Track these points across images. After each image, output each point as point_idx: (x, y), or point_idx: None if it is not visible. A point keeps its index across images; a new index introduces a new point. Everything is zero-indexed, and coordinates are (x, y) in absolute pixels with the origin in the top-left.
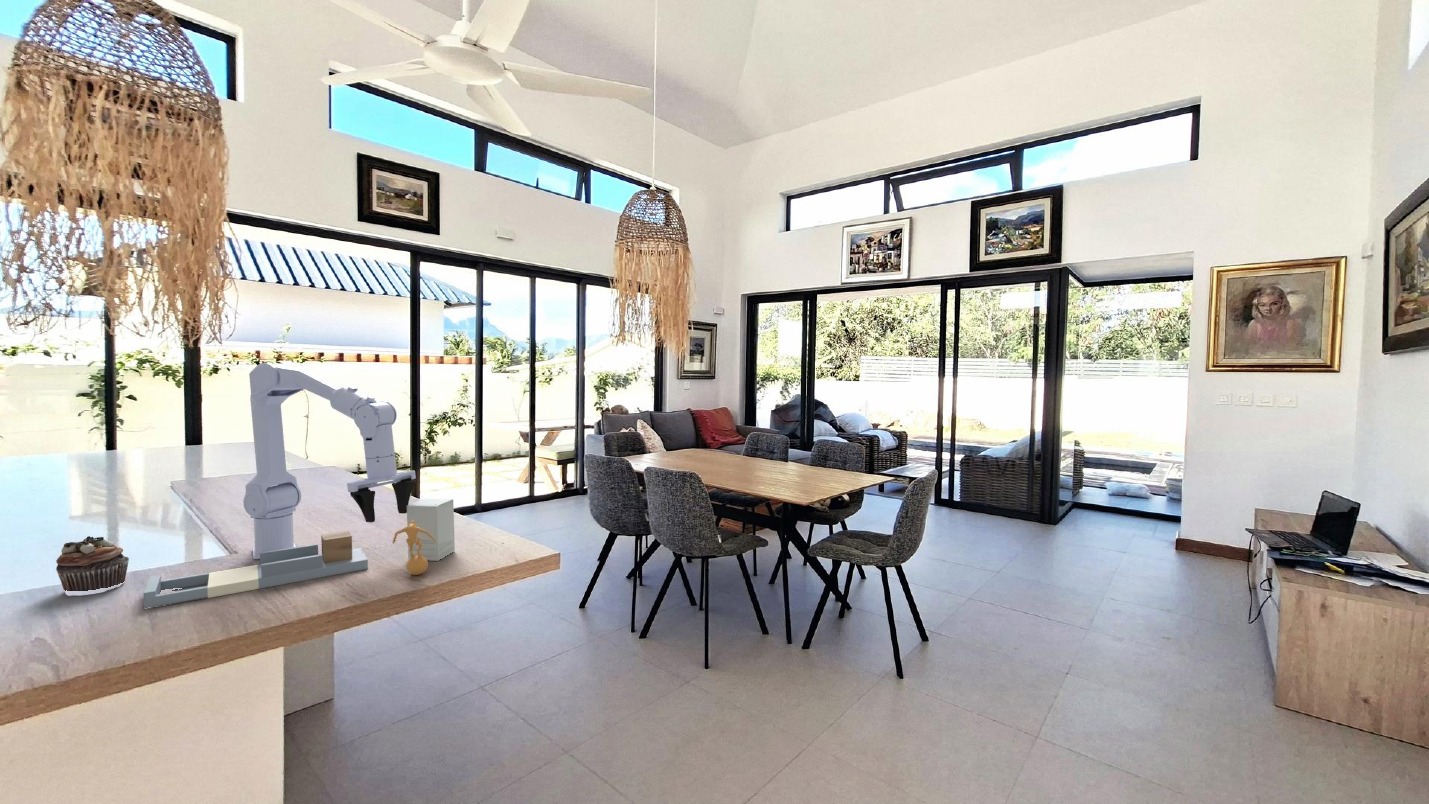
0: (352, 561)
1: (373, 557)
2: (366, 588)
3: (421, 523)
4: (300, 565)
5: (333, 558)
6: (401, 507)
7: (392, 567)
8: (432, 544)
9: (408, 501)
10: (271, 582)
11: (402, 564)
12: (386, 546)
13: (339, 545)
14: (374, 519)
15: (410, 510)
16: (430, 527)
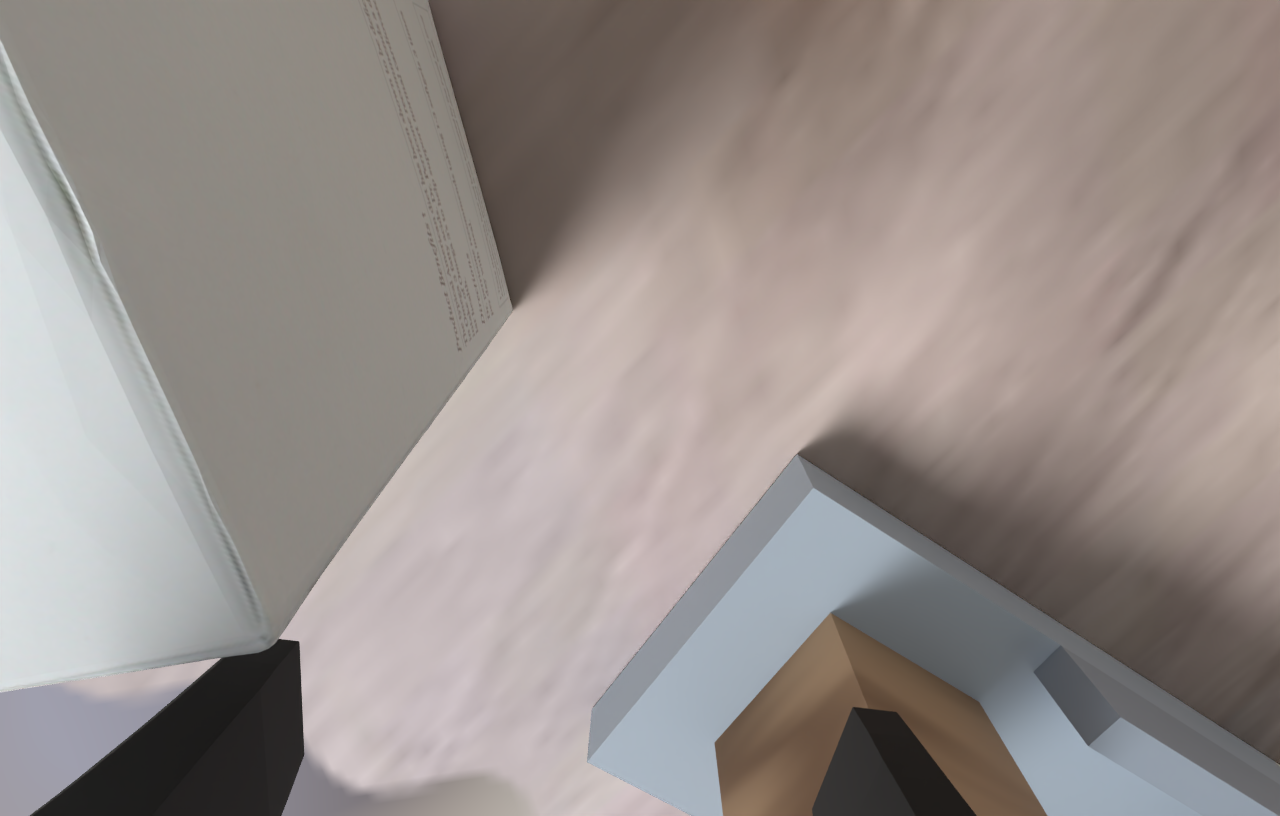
0: (891, 558)
1: (569, 617)
2: (1217, 71)
3: (328, 199)
4: (1195, 746)
5: (946, 694)
6: (249, 790)
7: (711, 293)
8: (388, 31)
9: (69, 795)
10: (1251, 752)
11: (620, 272)
12: (336, 724)
13: (951, 756)
14: (877, 729)
15: (296, 493)
16: (295, 22)
